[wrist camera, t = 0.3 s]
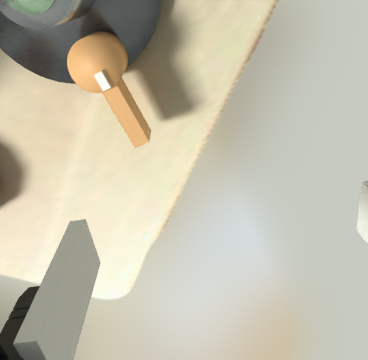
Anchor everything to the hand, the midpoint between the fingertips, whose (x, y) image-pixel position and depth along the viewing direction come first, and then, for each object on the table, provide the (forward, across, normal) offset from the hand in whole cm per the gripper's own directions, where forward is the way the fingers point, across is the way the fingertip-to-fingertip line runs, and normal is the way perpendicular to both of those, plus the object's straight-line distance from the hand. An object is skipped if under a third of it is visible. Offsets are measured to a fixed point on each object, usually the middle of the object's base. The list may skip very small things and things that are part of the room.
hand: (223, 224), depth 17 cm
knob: (+23, -8, +3) cm, 24 cm away
